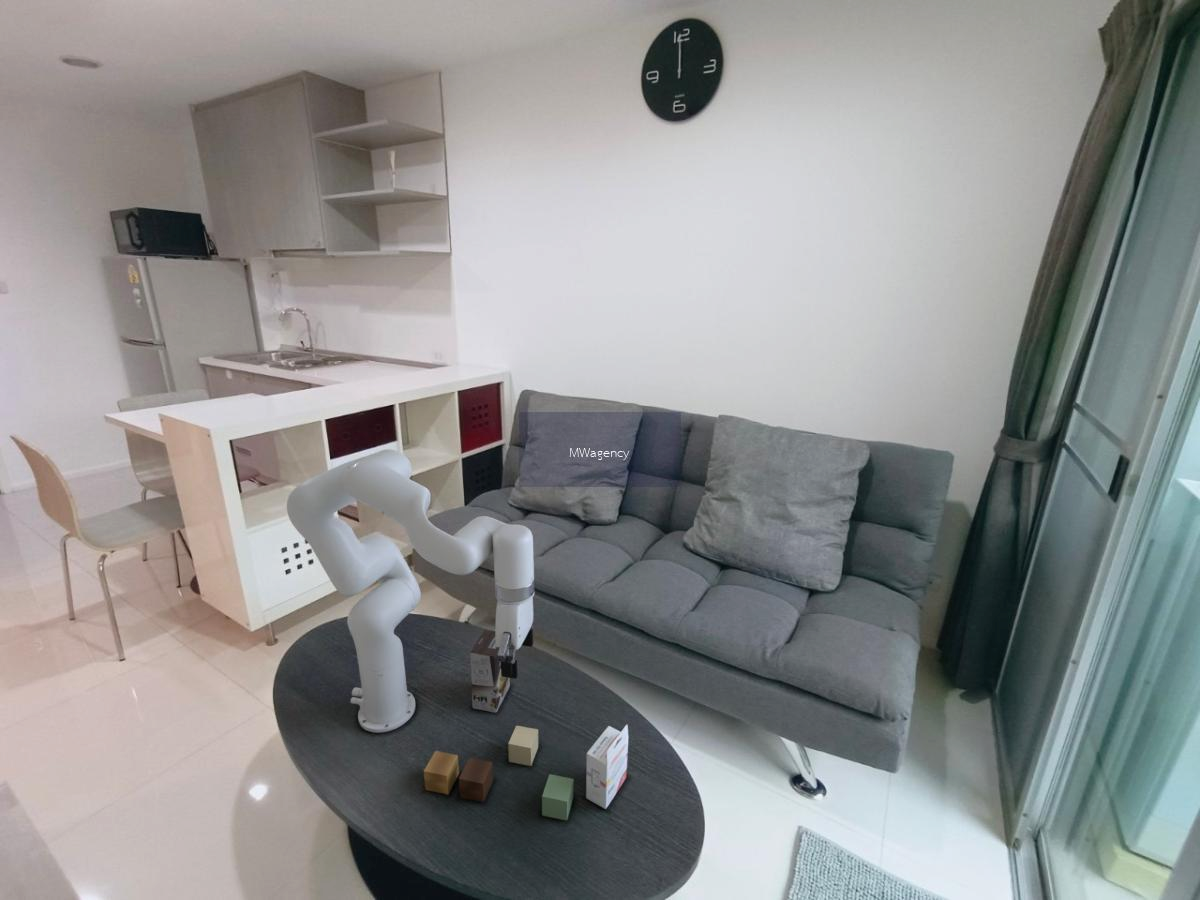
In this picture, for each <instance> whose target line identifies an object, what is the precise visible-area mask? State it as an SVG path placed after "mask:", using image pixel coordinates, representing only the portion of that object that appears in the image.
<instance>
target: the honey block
mask: <svg viewBox="0 0 1200 900" xmlns="http://www.w3.org/2000/svg"><path fill="white" fill-rule="evenodd" d="M459 775H460V767H459V755H458V754H454V753H449V752H445V751H439V750H434V753H433V754H432V756H431V758H430V759H429V761H428V762H427V764H426V766H425V768H424V769H423V778H424V789H425V791H430V792H435V793H438V794H443V795H448V796H449V794H450V792H451V790H452V788H453V786H454V785H455V783H456V780H457V778H458V777H459Z"/></svg>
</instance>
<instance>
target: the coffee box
mask: <svg viewBox="0 0 1200 900" xmlns="http://www.w3.org/2000/svg"><path fill="white" fill-rule="evenodd" d="M499 648H500V647H497V646H496V635H495V630H488V629H484V630H483V631H482V633H481V634H480V636H479V638H478V639H477V642H476V643H474V645H473V647H472V649H471V650H470V652H469V657H470V679H471V699H472V702H471V703H472V709H475V710H480V711H486V712H489V713H495V714H496V713H497V712H498V711H499V708H500V706H501V705H502V703H503V701H504V699H505V697H506V695H507V693H508V691H509V689H510V687H511V686H510V685H511V684H510V679H511V678H507V677H502V676H501V662H500V661H499V657H498V651H499ZM509 651H510V649H507V655H508V656H510V652H509Z"/></svg>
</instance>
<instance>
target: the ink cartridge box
mask: <svg viewBox="0 0 1200 900" xmlns="http://www.w3.org/2000/svg"><path fill="white" fill-rule="evenodd" d="M629 737H630V736H629V726H628V724H626V725H625V726H624V727H623V729H622V730H621V731H620V730H618V729H616V728H614V727H612V726H610V725H608V726H607V727H606V728H605V730H604V731H603V732H602V733H601V734H600V736H599V737H598V738H597V739H596V741H594V743H593V744H592V746H591V747H590V748H589V749H588V750H587V752H586V772H585V773H586V774H585V775H586V777H585V779H586V781H585V783H586V784H585V787H586V788H585V798H586V799H587V800H589V801H590V802H591V803H594V804H595V805H597V806H599V807H601V808H602V809H604V810H606V809H607V808H608V807H609V805H610V804H611V802H612V801H613V799H614V798H615V796H616V794H617V793H618V792H619V790H620V788H621V787H622V785H623V784H624V782H625V780H626V779H627V772H628V771H627V769H628V755H629Z"/></svg>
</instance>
